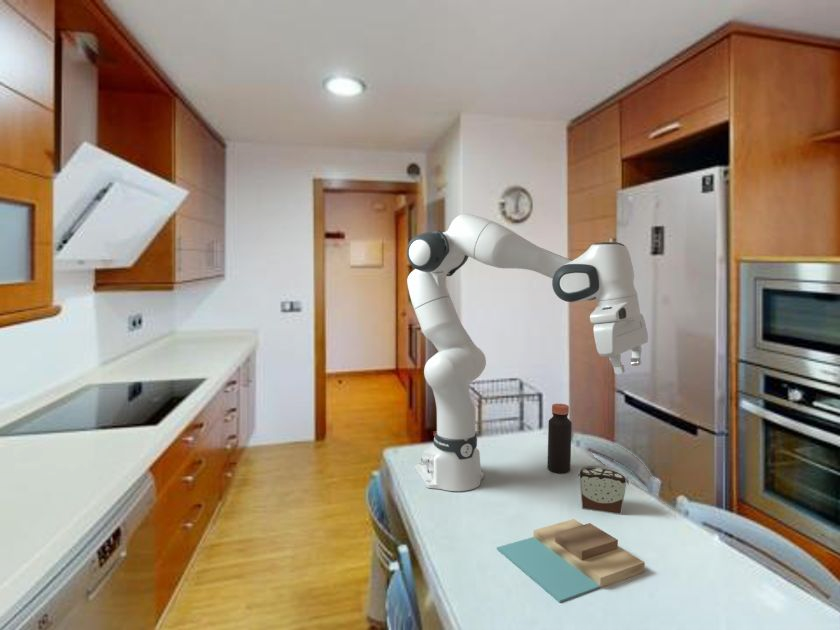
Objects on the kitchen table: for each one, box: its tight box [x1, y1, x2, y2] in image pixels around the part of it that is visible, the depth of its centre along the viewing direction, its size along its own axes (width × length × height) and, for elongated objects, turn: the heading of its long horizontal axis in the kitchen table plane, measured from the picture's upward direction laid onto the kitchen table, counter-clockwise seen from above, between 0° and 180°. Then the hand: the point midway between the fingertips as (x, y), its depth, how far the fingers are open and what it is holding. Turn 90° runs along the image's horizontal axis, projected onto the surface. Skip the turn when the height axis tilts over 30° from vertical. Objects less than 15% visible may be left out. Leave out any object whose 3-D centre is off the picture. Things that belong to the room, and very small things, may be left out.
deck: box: [532, 518, 646, 589], centre depth 109 cm, size 20×12×2 cm, turn 26°
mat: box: [496, 536, 601, 603], centre depth 104 cm, size 20×10×1 cm, turn 26°
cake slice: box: [576, 464, 630, 516], centre depth 131 cm, size 12×6×10 cm, turn 71°
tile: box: [555, 522, 619, 560], centre depth 108 cm, size 8×10×2 cm
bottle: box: [547, 403, 573, 474], centre depth 155 cm, size 7×7×20 cm
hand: (628, 369), depth 118 cm, fingers open, 8 cm apart
